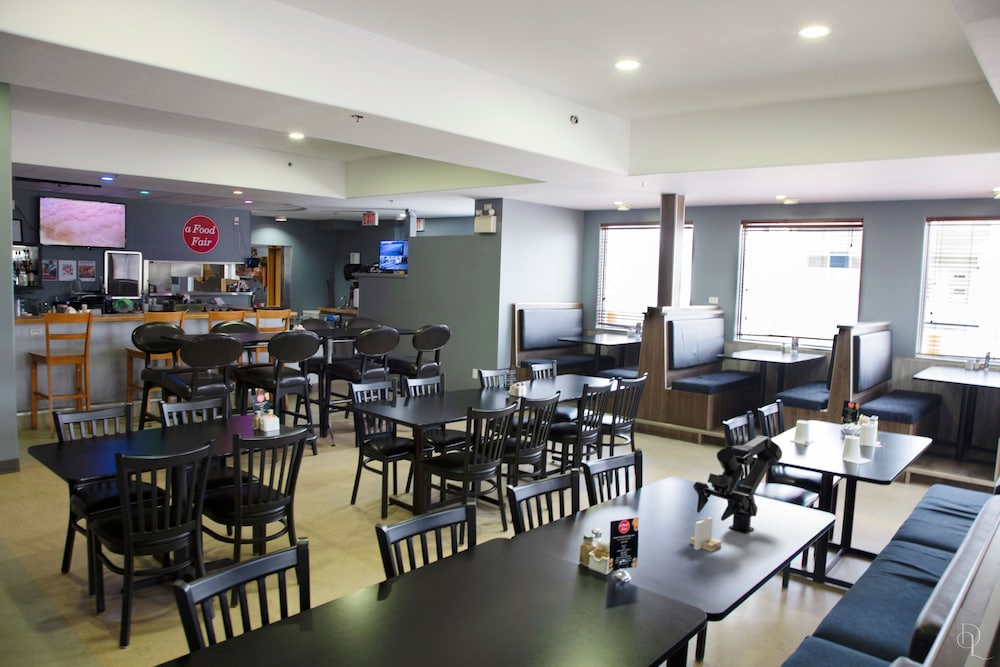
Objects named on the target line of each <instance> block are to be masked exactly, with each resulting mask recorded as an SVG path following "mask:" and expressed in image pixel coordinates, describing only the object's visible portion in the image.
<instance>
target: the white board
mask: <svg viewBox="0 0 1000 667" xmlns="http://www.w3.org/2000/svg"><path fill="white" fill-rule="evenodd" d="M694 525H695V526H694V528H695V529H694V536H695V540H694V545H693V549H694V550H696V551H698V550H700V549H703V543H704V542H706V541H709V540H711V539H712V535H713V533H712V532H713V531H712V530H713V518H712V517H709V516H708V517H707V518H704V519H701V520H698V521H695V524H694Z"/></svg>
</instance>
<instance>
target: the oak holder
mask: <svg viewBox="0 0 1000 667" xmlns="http://www.w3.org/2000/svg"><path fill="white" fill-rule="evenodd" d="M694 540H695V535H694V536H691V537H689V544H690V545H693V546H694ZM721 547H722V540H719V539H716V538H711V540H709V541H706V542H704V543H703V548H702V549H703V550H706V551H709V552H713V551H716V550H718V549H720V548H721Z"/></svg>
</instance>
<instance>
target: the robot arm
mask: <svg viewBox="0 0 1000 667" xmlns="http://www.w3.org/2000/svg"><path fill="white" fill-rule="evenodd" d="M754 456H756V460H755V462H754V464H753V465H752V468H751V469H750V471H749V473H748V475H747V476H746V477H745V479H744V481H743V482H742V484H741V485H740V484H738V483H739V481H740V479H741V477H744V476H745V471H744V467H743V466H747V467H748V466H749V465H751V463H753V461H754ZM782 457H783V451H782V449H781V447H780V445H779V444H777V443H776V442H775V441H773V440H772V438H770V437H769V436H764V435H756V436H755V437H754V438H753V439H751V440H749V441H748V442H746V443H745V444H742V445H740V444H738V445H733V446H732V445H731V446H730V445H726V446H725V448H721V449H720V450H718V451H717V453H716V458H717V461H718V463H719V464H720V467H721V469H722V470H723V472H722V474H716V473H715V474H714V473H712V472H711V473H709V476H708V479H707V483H708V484H709V483H710V484H711V488H710V487H709V486H708V484H707V483H705V482H701V481H695V483H694V484H693V486H692V488H693V489H694V491H695V492H696V494H697V497H698V498H697V508H696V512H697V514H699V513H700V512H702V510H703V508H704V507H705V506H706V505H707V503H708V502H709V498H710V497H711V496H713V497H717V498H720V499H723V500H727V506H726V508H725V510H724V511H723V514H722V515H721V518H720V520H721V521H722V522H724V521H725V520H727V519H728V518H730V517H731V516H733V519H732V525H730V526H728V528H729V529H730V528H731V530H733V529H734V531H736V530H738V531H737V532H739V531H740V533H742V532H743V534H747V533H750V532H752V531H754V530H755V528H754V527H752V526H751V524H752V523H751V521H752V520H751V519H752V517H756V516H757V514H758V509H759V508H758V506H757V504H756V502H755V496H754V495H755V492H756V491H757V489H758V488H759V486H760V484H761V482H762V481H763V479H764V477H765V475H766V474H767V472H768V470H769V469H770V468H771V467H775V466H776V465H777V464H778V462H779V461H780V460H781V459H782ZM742 465H743V466H742ZM712 488H713V489H712ZM753 529H754V530H753ZM751 530H752V531H751ZM749 531H750V532H749ZM746 532H747V533H746Z"/></svg>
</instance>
